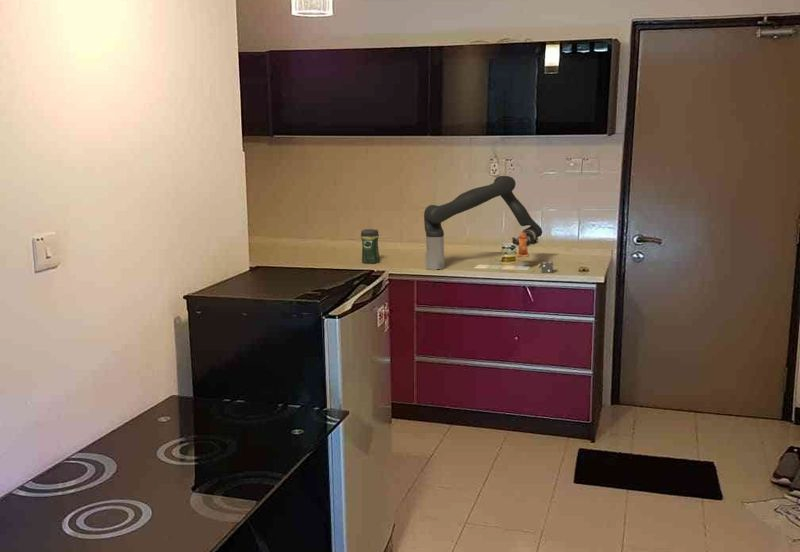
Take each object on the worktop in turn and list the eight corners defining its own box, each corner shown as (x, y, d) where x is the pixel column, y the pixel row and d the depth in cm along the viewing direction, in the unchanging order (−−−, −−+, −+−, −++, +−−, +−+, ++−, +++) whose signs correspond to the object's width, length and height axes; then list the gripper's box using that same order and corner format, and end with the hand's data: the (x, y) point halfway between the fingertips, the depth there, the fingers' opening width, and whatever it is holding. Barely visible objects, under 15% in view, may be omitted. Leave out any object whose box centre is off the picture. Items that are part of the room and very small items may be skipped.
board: (472, 271, 392) (472, 268, 392) (477, 266, 403) (477, 264, 403) (528, 273, 383) (528, 270, 383) (532, 268, 394) (532, 265, 394)
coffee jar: (381, 261, 426) (380, 228, 422) (376, 264, 419) (375, 230, 415) (365, 260, 429) (364, 228, 426) (360, 263, 422) (358, 230, 418)
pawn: (516, 257, 387) (516, 233, 384) (518, 254, 392) (518, 231, 390) (528, 257, 385) (528, 233, 382) (529, 255, 390) (529, 231, 388)
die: (541, 273, 384) (541, 263, 383) (542, 271, 388) (542, 261, 387) (551, 273, 382) (551, 263, 381) (552, 271, 387) (552, 261, 386)
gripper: (513, 230, 402) (508, 235, 386) (541, 230, 397) (536, 236, 382) (513, 244, 403) (508, 250, 388) (541, 245, 399) (536, 251, 383)
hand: (522, 243), depth 385 cm, fingers closed on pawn, 4 cm apart
